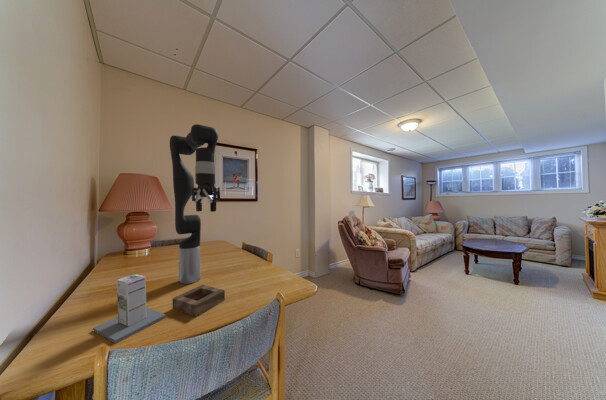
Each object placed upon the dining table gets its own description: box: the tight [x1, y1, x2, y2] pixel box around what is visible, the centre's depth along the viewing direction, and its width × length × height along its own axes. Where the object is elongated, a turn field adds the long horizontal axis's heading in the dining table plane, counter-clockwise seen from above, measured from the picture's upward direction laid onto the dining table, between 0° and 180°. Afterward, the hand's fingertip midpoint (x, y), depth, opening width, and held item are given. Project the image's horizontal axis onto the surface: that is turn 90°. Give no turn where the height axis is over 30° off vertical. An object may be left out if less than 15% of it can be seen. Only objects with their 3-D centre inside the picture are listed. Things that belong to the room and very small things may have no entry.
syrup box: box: [116, 273, 147, 327], centre depth 67 cm, size 6×6×14 cm
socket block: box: [172, 284, 226, 318], centre depth 79 cm, size 13×13×4 cm
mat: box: [92, 306, 167, 345], centre depth 67 cm, size 14×14×1 cm
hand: (206, 211), depth 86 cm, fingers open, 8 cm apart
